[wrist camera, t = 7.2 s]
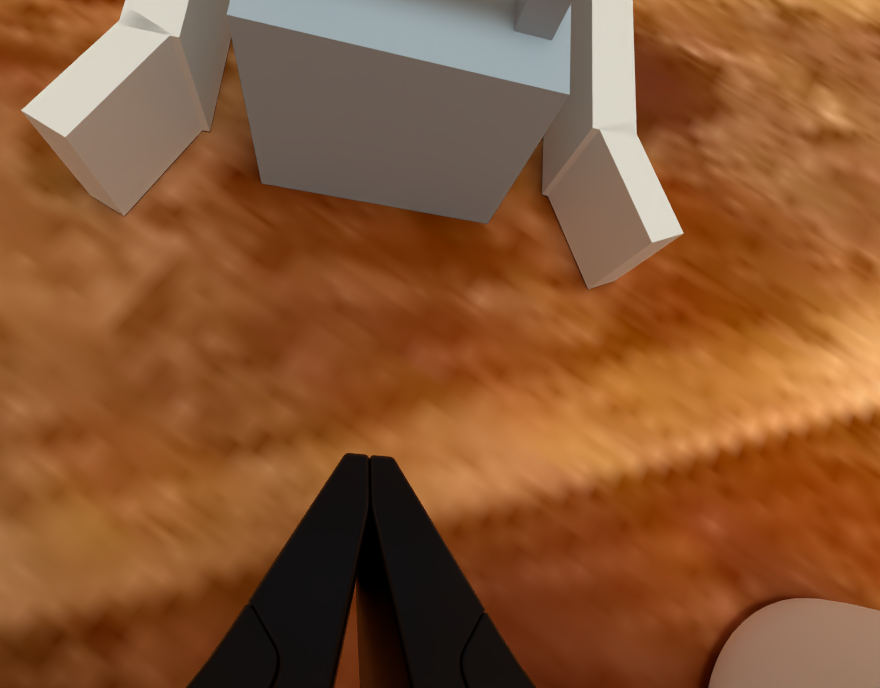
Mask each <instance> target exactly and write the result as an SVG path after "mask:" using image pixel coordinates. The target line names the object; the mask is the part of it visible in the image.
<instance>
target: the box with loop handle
mask: <svg viewBox="0 0 880 688" xmlns="http://www.w3.org/2000/svg"><path fill="white" fill-rule="evenodd" d="M572 1H573V0H230V3H229V7H228V11H227V18H228V23H229V28H230V33H231V38H232V43H233V47H234V52H235V57H236V62H237V67H238V72H239V77H240V81H241V86H242V91H243V96H244V101H245V106H246V110H247V115H248V120H249V125H250V130H251V135H252V139H253V144H254V149H255V154H256V159H257V164H258V168H259V173H260V178H261V183H263V184H268V185H274V186H279V187H285V188H290V189H296V190H302V191H307V192H313V193H318V194H324V195H329V196H335V197H341V198H346V199H352V200H357V201H363V202H368V203H374V204H379V205H385V206H391V207H396V208H402V209H407V210H413V211H418V212H424V213H430V214H435V215H441V216H446V217H452V218H457V219H463V220H469V221H474V222H480V223H485V224H488V222H489V221H490V219H491V218H492V216H493V215H494V213H495V211H496V210H497V208H498V207H499V205H500V204H501V202H502V200H503V199H504V197H505V196H506V194H507V193H508V191H509V189H510V188H511V186H512V185H513V183H514V182H515V180H516V178H517V177H518V175H519V174H520V172H521V171H522V169H523V167H524V166H525V164H526V163H527V161H528V160H529V158H530V156H531V155H532V153H533V152H534V150H535V149H536V147H537V145H538V144H539V142H540V141H541V139H542V138H543V136H544V134H545V133H546V131H547V130H548V128H549V127H550V125H551V123H552V122H553V120H554V119H555V117H556V116H557V114H558V112H559V111H560V109H561V108H562V106H563V105H564V103H565V101H566V100H567V98H568V97H569V95H570V41H571V3H572Z"/></svg>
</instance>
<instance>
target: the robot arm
mask: <svg viewBox="0 0 880 688" xmlns="http://www.w3.org/2000/svg"><path fill="white" fill-rule="evenodd" d="M355 583H356V610H357V632H358V654H359V676H360V688H536V686H535V685H534V683H533V682H532V681H531V679H530V678H529V677H528V675H527V674H526V672H525V671H524V670H523V668H522V667H521V665H520V664H519V663H518V661H517V659H516V658H515V656H514V655H513V653H512V652H511V650H510V649H509V647H508V645H507V644H506V642H505V641H504V639H503V638H502V636H501V634H500V633H499V631H498V630H497V628H496V626H495V625H494V623H493V621H492V620H491V618H490V616H489V614H488V613H486V612H485V613H484V611H485V609H484V607H483V605H482V603H481V602H480V600H479V598H478V597H477V595H476V593H475V592H474V590H473V588H472V587H471V585H470V583H469V582H468V580H467V578H466V577H465V575H464V573H463V572H462V570H461V569H460V567H459V565H458V564H457V562H456V560H455V559H454V557H453V555H452V554H451V552H450V550H449V549H448V547H447V545H446V544H445V542H444V540H443V539H442V537H441V535H440V534H439V532H438V530H437V529H436V527H435V526H434V524H433V522H432V521H431V519H430V517H429V516H428V514H427V512H426V511H425V509H424V507H423V506H422V504H421V502H420V501H419V499H418V497H417V496H416V494H415V492H414V491H413V489H412V487H411V486H410V484H409V482H408V481H407V479H406V478H405V476H404V474H403V473H402V471H401V469H400V468H399V466H398V464H397V463H396V461H395V459H394V458H392V457H387V456H376V455H373V456H371V457H370V458H369V457H368V456H367V455H364V454H353V453H347V454H345V455H344V456H343V458H342V459H341V461H340V462H339V464H338V465H337V467H336V468H335V470H334V471H333V473H332V474H331V476H330V477H329V479H328V480H327V482H326V483H325V485H324V486H323V488H322V489H321V491H320V493H319V494H318V496H317V497H316V499H315V500H314V502H313V503H312V505H311V506H310V508H309V509H308V511H307V512H306V514H305V515H304V517H303V518H302V520H301V521H300V523H299V524H298V526H297V528H296V529H295V531H294V532H293V534H292V535H291V537H290V538H289V540H288V541H287V543H286V544H285V546H284V547H283V549H282V550H281V552H280V553H279V555H278V556H277V558H276V559H275V561H274V562H273V564H272V566H271V567H270V569H269V570H268V572H267V573H266V575H265V576H264V578H263V579H262V581H261V582H260V584H259V585H258V587H257V588H256V590H255V591H254V593H253V594H252V596H251V597H250V599H249V601H248V604H247V605H245V606H244V608H243V609H242V611H241V612H240V614H239V615H238V617H237V618H236V620H235V621H234V623H233V624H232V626H231V627H230V629H229V630H228V632H227V633H226V634H225V636H224V637H223V639H222V640H221V642H220V643H219V644H218V646H217V647H216V649H215V650H214V651H213V653H212V654H211V656H210V657H209V659H208V660H207V661H206V663H205V664H204V665H203V666H202V668H201V669H200V670H199V671H198V673H197V674H196V675H195V676H194V678H193V679H192V680H191V682H190V683H189V684H188V685H187V687H186V688H335V683H336V678H337V673H338V668H339V663H340V658H341V653H342V648H343V643H344V638H345V633H346V628H347V623H348V618H349V613H350V608H351V603H352V598H353V593H354V588H355Z"/></svg>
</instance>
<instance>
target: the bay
mask: <svg viewBox="0 0 880 688" xmlns="http://www.w3.org/2000/svg"><path fill="white" fill-rule="evenodd" d="M229 3H230V0H125V4H124V7H123V10H122V14H121V17H120V20H119V21H118V22H117V23H116V24H115V25H114V26H113V27H112V28H110V29H109V30H108V31H107V32H106V33H105V34H104V35H103V36H102V37H101V38H100V39H98V40H97V41H96V42H95V43H94V44H93V45H92V46H91V47H90V48H89V49H88V50H86V51H85V52H84V53H83V54H82V55H81V56H80V57H79V58H78V59H77V60H76V61H74V62H73V63H72V64H71V65H70V66H69V67H68V68H67V69H66V70H65V71H64V72H62V73H61V74H60V75H59V76H58V77H57V78H56V79H55V80H54V81H53V82H52V83H51V84H49V85H48V86H47V87H46V88H45V89H44V90H43V91H42V92H41V93H40V94H39V95H37V96H36V97H35V98H34V99H33V100H32V101H31V102H30V103H29V104H28V105H27V106H25V107H24V108H23V109H22V110H21V111H22V112H23V113H24V115H25V116H26V117H27V118H28V119H29V121H30V122H31V123H32V124H33V126H34V127H35V128H36V129H37V131H38V132H39V133H40V134H41V135H42V137H43V138H44V139H45V140H46V142H47V143H48V144H49V145H50V146H51V148H52V149H53V150H54V151H55V153H56V154H57V155H58V156H59V158H60V159H61V160H62V161H63V162H64V164H65V165H66V166H67V167H68V169H69V170H70V171H71V172H72V173H73V175H74V176H75V177H76V178H77V180H78V181H79V182H80V183H81V185H82V186H83V187H84V188H85V189H86V191H87V192H88V193H89V194H90V196H92V197H94V198H95V199H97V200H99V201H100V202H102V203H104V204H105V205H107V206H108V207H110V208H112V209H113V210H115V211H117V212H118V213H120V214H122V215H123V216H125V215H126V214H127V213H128V212H129V210H130V209H131V208H132V207H133V206H134V205H135V204H136V203H137V202H138V201H139V199H140V198H141V197H142V196H143V195H144V194H145V193H146V192H147V191H148V190H149V188H150V187H151V186H152V185H153V184H154V183H155V182H156V181H157V180H158V179H159V177H160V176H161V175H162V174H163V173H164V172H165V171H166V170H167V169H168V168H169V166H170V165H171V164H172V163H173V162H174V161H175V160H176V159H177V158H178V157H179V156H180V154H181V153H182V152H183V151H184V150H185V149H186V148H187V147H188V146H189V145H190V143H191V142H192V141H193V140H194V139H195V138H196V137H197V136H198V135H199V134H200V132H201V131H202V130H203V131H209V132H210V129H211V124H212V120H213V116H214V111H215V107H216V102H217V98H218V93H219V89H220V85H221V80H222V76H223V71H224V67H225V63H226V58H227V54H228V49H229V45H230V40H231V33H230V28H229V23H228V18H227V11H228V7H229ZM542 195H546V196H548V198H549V200H550V202H551V205H552V207H553V209H554V212H555V214H556V216H557V218H558V221H559V223H560V225H561V228H562V230H563V232H564V235H565V237H566V239H567V242H568V244H569V246H570V249H571V251H572V253H573V256H574V258H575V260H576V262H577V265H578V267H579V269H580V272H581V274H582V276H583V279H584V281H585V283H586V286H587V288H588V289H591V288H594V287H597V286H600V285H603V284H607V283H610V282H613V281H615V280H617V279H618V278H620V277H621V276H623V275H624V274H626V273H627V272H628V271H630V270H631V269H633V268H634V267H636V266H637V265H639V264H640V263H641V262H643V261H644V260H646V259H647V258H649V257H650V256H652V255H653V254H654V253H656V252H657V251H659V250H660V249H662V248H663V247H665V246H666V245H667V244H669V243H670V242H672V241H673V240H675V239H676V238H678V237H679V236H680V235H682V234H683V231H682V229H681V227H680V225H679V222H678V220H677V218H676V216H675V214H674V212H673V210H672V208H671V206H670V203H669V201H668V199H667V197H666V195H665V193H664V191H663V189H662V187H661V185H660V182H659V180H658V178H657V176H656V174H655V172H654V170H653V168H652V166H651V163H650V161H649V159H648V157H647V155H646V153H645V151H644V149H643V147H642V144H641V142H640V140H639V138H638V136H637V133H636V100H635V67H634V33H633V0H573V1H572V3H571V41H570V95H569V97H568V98H567V100H566V101H565V103H564V105H563V106H562V108H561V109H560V111H559V112H558V114H557V116H556V117H555V119H554V120H553V122H552V123H551V125H550V127H549V128H548V130H547V131H546V133H545V134H544V136H543V172H542Z"/></svg>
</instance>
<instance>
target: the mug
mask: <svg viewBox="0 0 880 688" xmlns="http://www.w3.org/2000/svg"><path fill="white" fill-rule="evenodd" d="M708 688H880V611H879V610H874V609H870V608H866V607H861V606H857V605H852V604H847V603H842V602H836V601H830V600H824V599H817V598H793V599H787V600H781V601H779V602H776V603H773V604H770V605H768V606H765V607H763V608H762V609H760V610H758V611H756V612H755V613H753V614H752V615H751V616H749V617H748V618H747V619H746V620H744V621H743V622H742V623H741V624H740V625H739V626H738V627H737V629H736V630H735V631H734V632H733V633H732V634H731V636H730V637H729V639H728V640H727V642H726V643H725V645H724V646H723V648H722V650H721V652H720V654H719V656H718V658H717V660H716V663H715V666H714V669H713V672H712V674H711V678H710V682H709V686H708Z"/></svg>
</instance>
